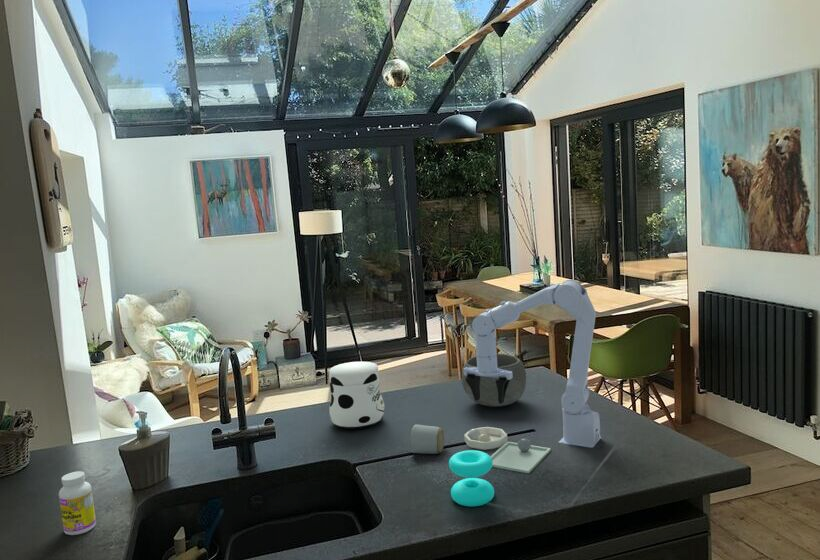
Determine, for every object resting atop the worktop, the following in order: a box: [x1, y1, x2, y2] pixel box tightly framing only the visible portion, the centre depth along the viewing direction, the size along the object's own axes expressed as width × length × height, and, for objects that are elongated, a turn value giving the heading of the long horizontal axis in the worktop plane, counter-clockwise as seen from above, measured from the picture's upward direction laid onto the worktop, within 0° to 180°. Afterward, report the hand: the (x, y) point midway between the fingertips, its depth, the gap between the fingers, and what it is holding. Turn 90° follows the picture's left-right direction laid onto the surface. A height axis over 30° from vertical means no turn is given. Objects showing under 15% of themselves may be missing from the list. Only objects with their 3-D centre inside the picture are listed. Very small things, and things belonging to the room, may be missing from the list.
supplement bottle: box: [58, 470, 97, 536], centre depth 146 cm, size 7×7×13 cm
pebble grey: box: [468, 428, 480, 441], centre depth 179 cm, size 3×3×3 cm
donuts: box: [448, 449, 495, 507], centre depth 147 cm, size 10×10×10 cm
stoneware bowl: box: [463, 426, 509, 450], centre depth 179 cm, size 11×11×2 cm
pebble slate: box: [517, 437, 532, 452], centre depth 170 cm, size 3×3×3 cm
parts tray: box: [489, 441, 552, 475], centre depth 166 cm, size 12×15×1 cm
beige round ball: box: [478, 433, 491, 442], centre depth 176 cm, size 3×3×3 cm
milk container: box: [328, 361, 385, 430], centre depth 202 cm, size 17×17×18 cm
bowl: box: [461, 353, 527, 408], centre depth 210 cm, size 21×21×15 cm
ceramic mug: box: [410, 424, 445, 455], centre depth 177 cm, size 11×8×8 cm
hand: (489, 401), depth 184 cm, fingers open, 7 cm apart
